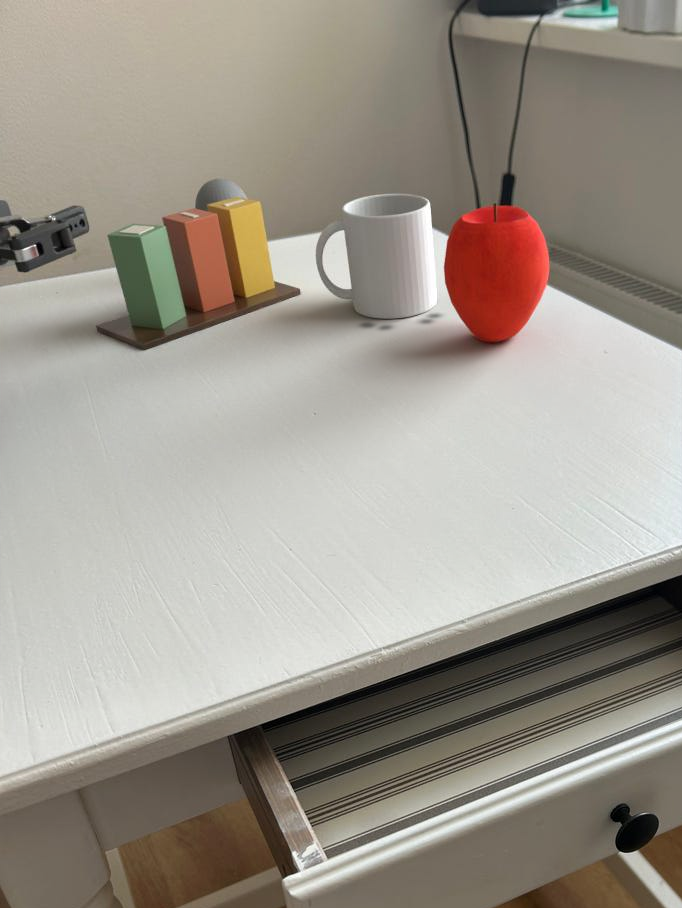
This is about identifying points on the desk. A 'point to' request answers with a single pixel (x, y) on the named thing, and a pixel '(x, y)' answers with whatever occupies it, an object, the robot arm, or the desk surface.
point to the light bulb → (217, 193)
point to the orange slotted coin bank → (199, 259)
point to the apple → (496, 270)
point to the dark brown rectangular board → (193, 319)
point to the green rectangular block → (147, 275)
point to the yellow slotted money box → (244, 245)
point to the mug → (386, 255)
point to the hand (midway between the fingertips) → (45, 214)
